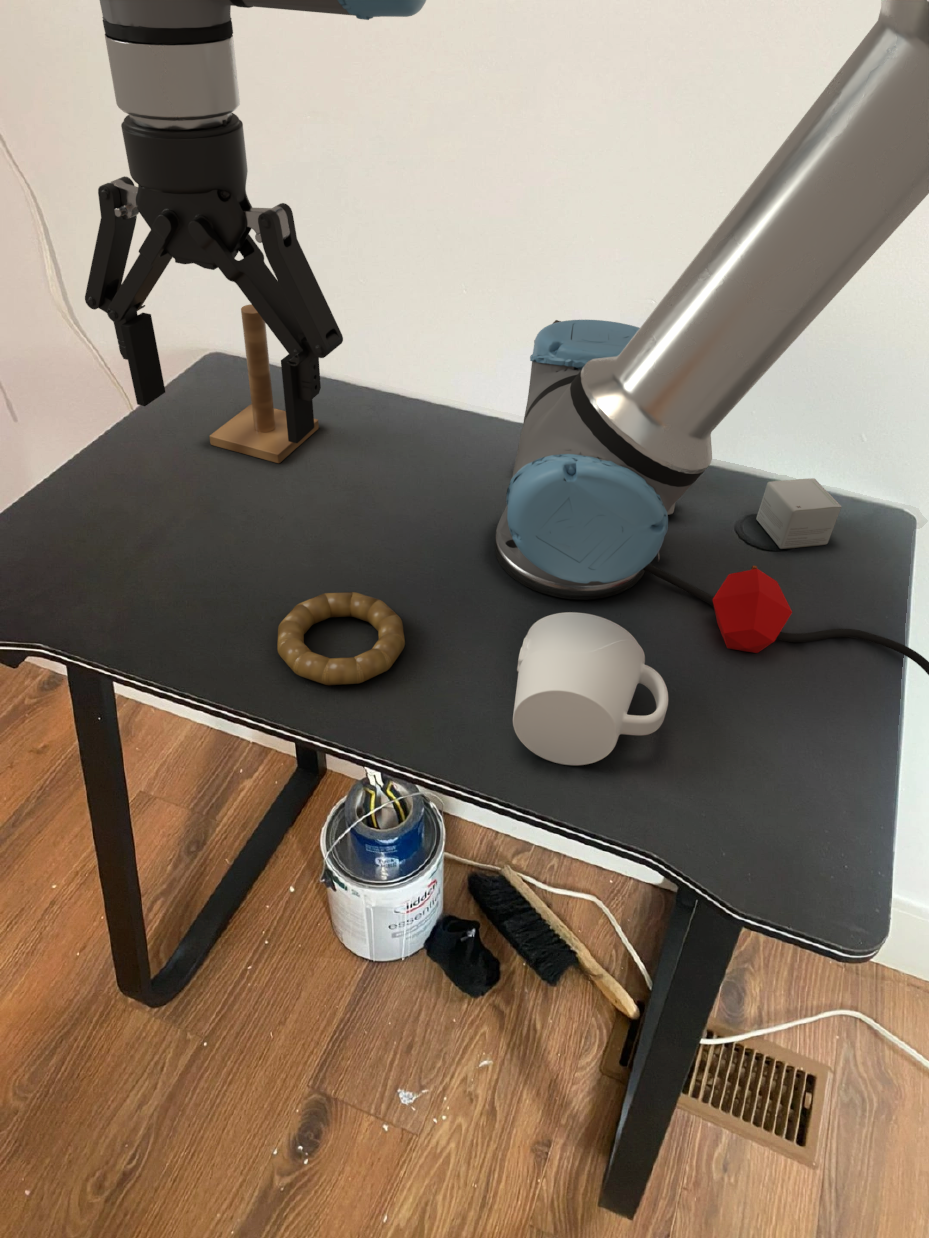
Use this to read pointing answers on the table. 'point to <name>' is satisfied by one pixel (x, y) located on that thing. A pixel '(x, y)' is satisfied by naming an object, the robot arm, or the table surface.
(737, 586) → the apple
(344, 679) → the ring
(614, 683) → the mug
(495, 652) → the table surface
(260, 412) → the peg stand
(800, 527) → the small box
